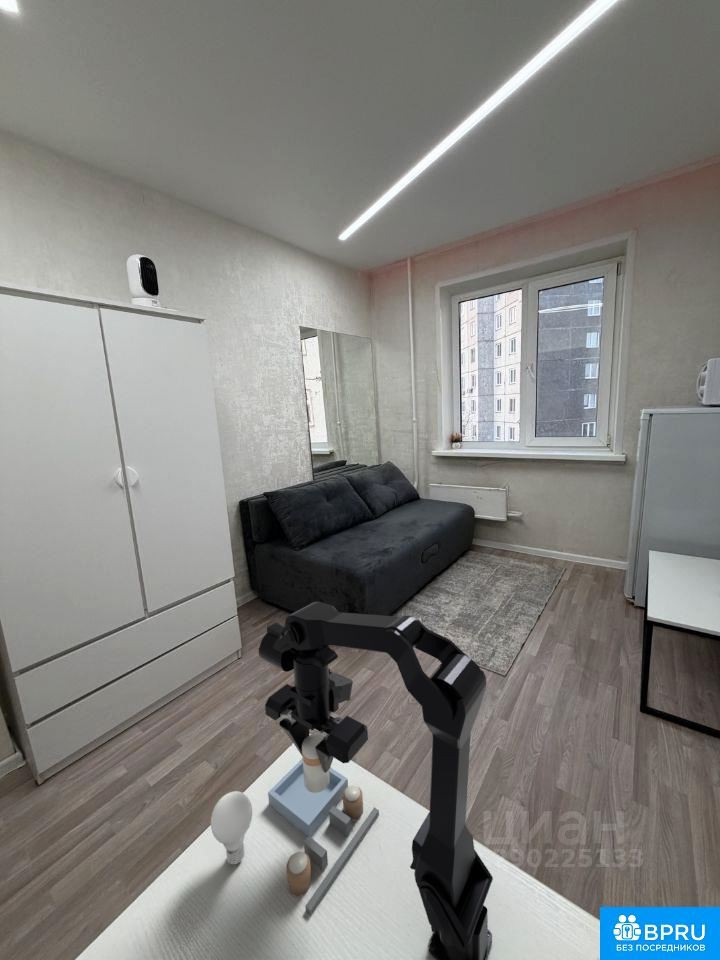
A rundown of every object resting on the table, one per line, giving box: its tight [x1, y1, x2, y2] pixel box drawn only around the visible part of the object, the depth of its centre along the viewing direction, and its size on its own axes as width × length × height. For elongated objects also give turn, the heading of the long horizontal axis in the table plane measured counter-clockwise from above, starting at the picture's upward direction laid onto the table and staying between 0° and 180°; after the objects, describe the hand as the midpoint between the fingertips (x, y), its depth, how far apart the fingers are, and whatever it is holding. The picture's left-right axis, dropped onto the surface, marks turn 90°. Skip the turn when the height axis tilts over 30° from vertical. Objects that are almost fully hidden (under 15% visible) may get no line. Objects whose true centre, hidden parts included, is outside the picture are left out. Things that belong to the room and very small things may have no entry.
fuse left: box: [285, 851, 312, 897], centre depth 58 cm, size 4×4×4 cm
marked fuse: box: [301, 733, 330, 793], centre depth 65 cm, size 4×4×7 cm
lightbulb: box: [210, 790, 253, 865], centre depth 61 cm, size 6×6×11 cm
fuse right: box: [342, 784, 364, 821], centre depth 69 cm, size 4×4×4 cm
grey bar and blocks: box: [303, 806, 380, 916], centre depth 63 cm, size 6×18×2 cm, turn 143°
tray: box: [267, 758, 349, 838], centre depth 72 cm, size 11×11×2 cm
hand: (316, 763), depth 65 cm, fingers closed on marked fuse, 4 cm apart
